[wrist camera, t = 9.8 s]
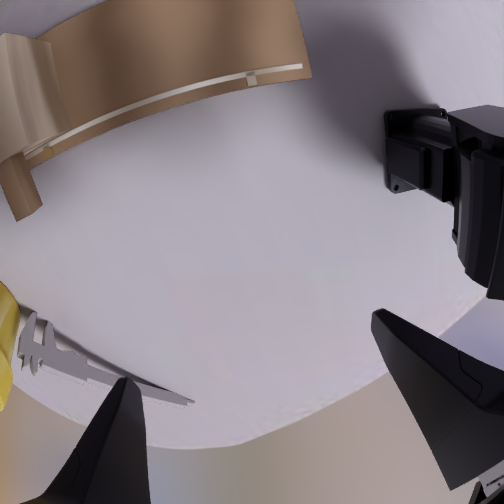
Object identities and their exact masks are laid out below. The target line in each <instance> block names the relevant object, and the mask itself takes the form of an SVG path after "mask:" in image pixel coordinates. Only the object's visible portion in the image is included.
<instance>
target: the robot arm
mask: <svg viewBox="0 0 504 504" xmlns="http://www.w3.org/2000/svg"><path fill="white" fill-rule="evenodd" d="M441 113H442V116H441ZM390 115H392V119H391V120H390ZM447 117H448V120H447ZM384 122H385V132H386V140H385V142H386V156H387V171H388V186H389V190H390V191H391V192H393V193H394V194H397V193H401V192H405V191H409V190H414V189H419V190H423V191H425V192H426V193H428V194H430V195H431V196H433V197H435V198H437V199H438V200H440V201H442V202H446V203H448V204H450V205H451V206H453V207H454V229H452V238H453V240H454V241H455V243H456V245H457V251H458V257H459V259H460V260H461V262H462V264H463V266H464V267H465V273H466V274H467V275H468V276H469V277H470V278H471V279H472V280H473V281H475V282H476V283H478V284H480V285H481V286H483V287H486V288H488V290H487V293H486V297H487V298H489V299H497V300H504V108H503V107H497V106H491V105H484V106H478V107H472V108H467V109H462V110H457V111H452V112H448V113H447V112H446V110H445V109H443V108H415V109H397V110H387V111H386V112H385V114H384ZM395 185H396V187H395V189H394V186H395ZM371 331H372V334H373V336H374V338H375V341H376V343H377V345H378V347H379V350H380V352H381V355H382V357H383V359H384V362H385V364H386V366H387V368H388V370H389V372H390V373H391V375H392V377H393V379H394V381H395V382H396V384H397V386H398V388H399V390H400V391H401V393H402V395H403V397H404V399H405V400H406V402H407V404H408V406H409V408H410V410H411V412H412V414H413V415H414V417H415V419H416V421H417V423H418V425H419V427H420V429H421V431H422V433H423V435H424V437H425V439H426V441H427V443H428V445H429V447H430V449H431V450H432V453H433V455H434V457H435V459H436V461H437V463H438V466H439V468H440V470H441V472H442V474H443V476H444V478H445V481H446V483H447V485H448V487H449V489H450V491H451V490H453V489H455V488H457V487H459V486H461V485H463V484H465V483H467V482H468V481H470V480H472V479H474V478H476V477H477V476H478V478H479V480H480V481H478V482H477V483H476V485H475V488H474V491H473V493H472V496H471V499H470V501H469V504H504V371H502V370H500V369H498V368H495V367H493V366H490V365H488V364H486V363H484V362H482V361H479V360H477V359H475V358H473V357H472V356H469V355H468V354H466V353H464V352H462V351H460V350H459V351H458V349H457V348H455V347H453V346H451V345H450V344H448V343H446V342H444V341H442V340H441V339H439V338H437V337H435V336H433V335H432V334H430V333H428V332H426V331H424V330H423V329H421V328H419V327H417V326H415V325H413V324H412V323H410V322H408V321H406V320H404V319H402V318H401V317H399V316H397V315H395V314H393V313H391V312H390V311H388V310H386V309H383V308H381V309H378V310H376V311H374V312H373V313H372V321H371ZM147 467H148V466H147V449H146V427H145V419H144V411H143V403H142V394H141V390H140V388H139V387H138V386H137V385H136V383H135V382H134V381H133V380H132V379H131V378H130V377H128V376H126V377H120V378H119V379H118V380H117V381H116V383H115V384H114V386H113V387H112V389H111V391H110V392H109V394H108V395H107V397H106V398H105V400H104V401H103V403H102V405H101V406H100V408H99V409H98V411H97V413H96V414H95V416H94V417H93V419H92V421H91V422H90V424H89V425H88V427H87V429H86V431H85V432H84V434H83V435H82V437H81V439H80V440H79V442H78V444H77V445H76V448H75V449H74V450H73V452H72V454H71V455H70V457H69V459H68V460H67V462H66V463H65V465H64V466H63V467H62V469H61V470H60V472H59V473H58V475H57V476H56V477H55V479H54V480H53V481H52V483H51V484H50V486H49V487H48V488H47V490H46V491H45V492H44V493H43V494H42V495H41V496H39V497H37V498H35V499H32V500H29V501H27V502H24V503H20V504H151V501H150V492H149V480H148V468H147Z"/></svg>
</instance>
